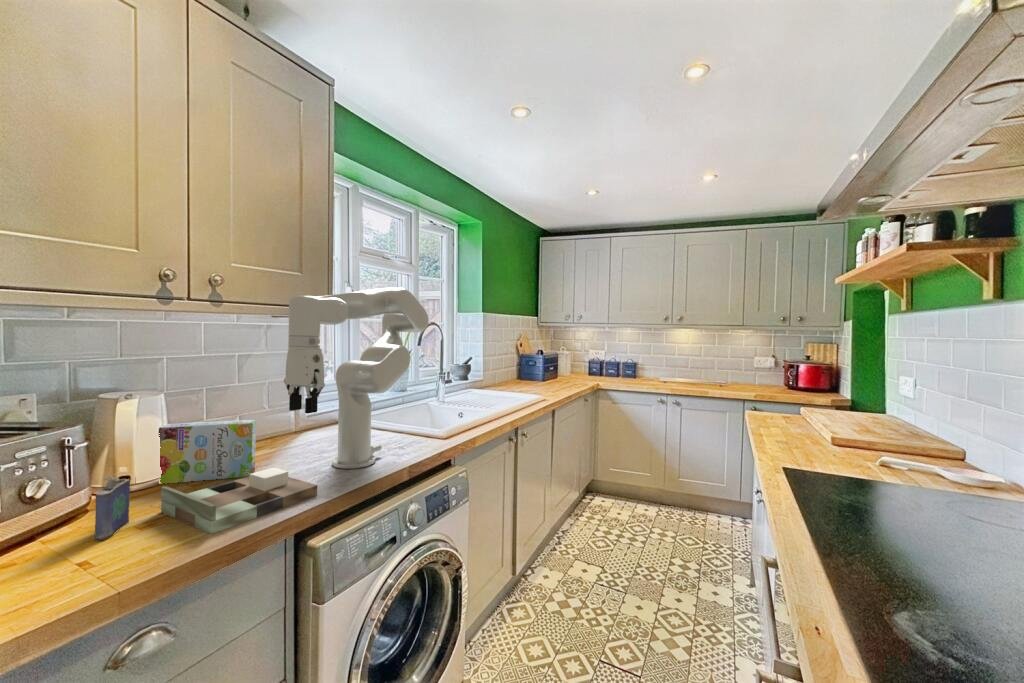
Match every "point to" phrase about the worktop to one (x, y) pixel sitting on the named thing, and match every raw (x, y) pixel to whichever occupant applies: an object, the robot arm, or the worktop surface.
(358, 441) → the robot arm
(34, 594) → the worktop surface
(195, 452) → the snack box
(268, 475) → the block
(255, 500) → the box
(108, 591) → the worktop surface
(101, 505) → the flask
